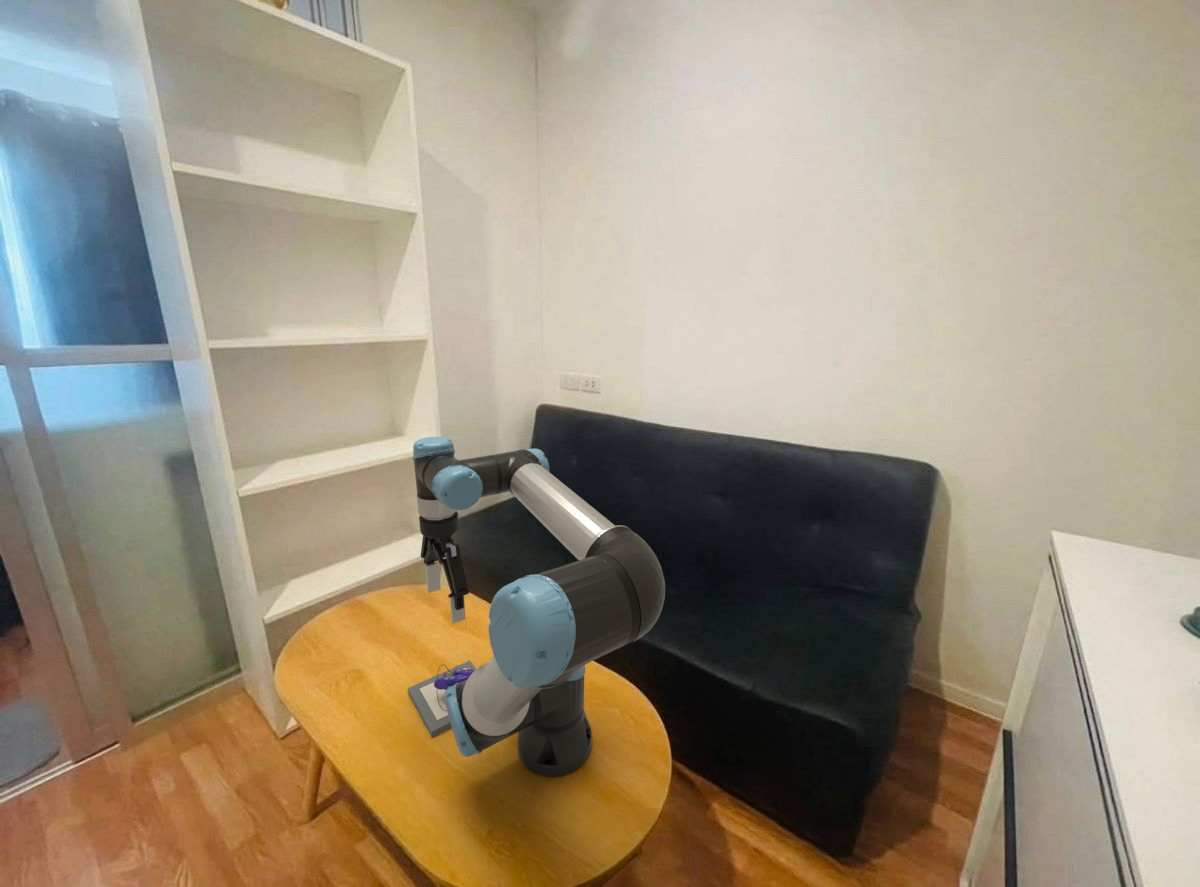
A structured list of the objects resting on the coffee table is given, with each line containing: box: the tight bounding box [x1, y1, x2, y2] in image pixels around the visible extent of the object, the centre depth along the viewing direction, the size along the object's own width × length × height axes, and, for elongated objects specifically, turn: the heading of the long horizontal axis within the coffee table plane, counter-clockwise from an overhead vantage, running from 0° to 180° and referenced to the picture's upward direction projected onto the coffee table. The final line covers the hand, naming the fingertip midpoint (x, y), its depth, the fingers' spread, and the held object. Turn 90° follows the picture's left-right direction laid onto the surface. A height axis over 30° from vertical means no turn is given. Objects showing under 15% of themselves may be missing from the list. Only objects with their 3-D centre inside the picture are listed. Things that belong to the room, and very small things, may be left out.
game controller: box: [434, 664, 475, 711], centre depth 109 cm, size 10×8×10 cm
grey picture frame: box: [407, 660, 477, 739], centre depth 110 cm, size 15×15×2 cm
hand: (445, 605), depth 104 cm, fingers open, 13 cm apart
